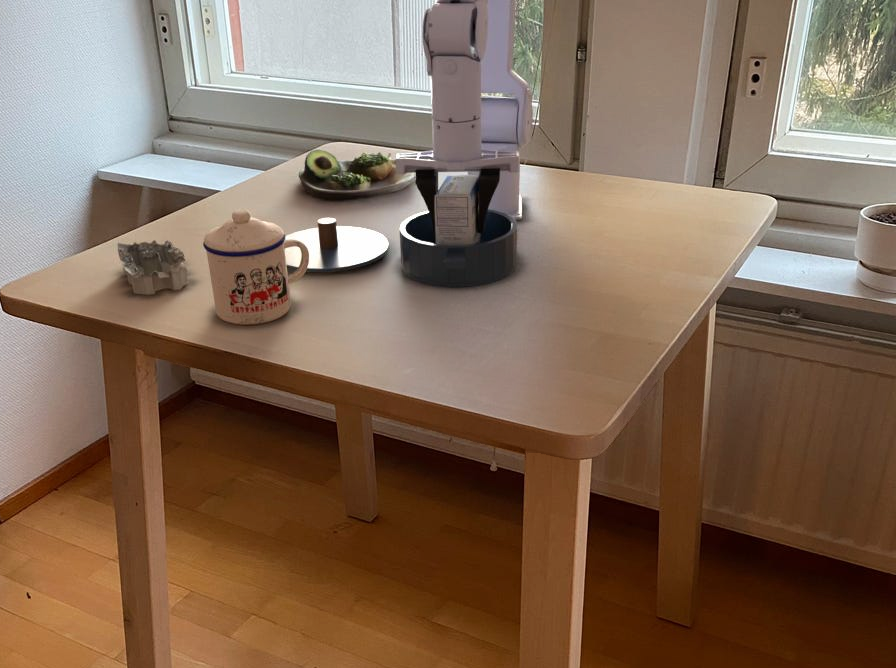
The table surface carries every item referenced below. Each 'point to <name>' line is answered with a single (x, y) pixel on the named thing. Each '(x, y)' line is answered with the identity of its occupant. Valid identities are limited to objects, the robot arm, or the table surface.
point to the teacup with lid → (251, 269)
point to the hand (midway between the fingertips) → (458, 230)
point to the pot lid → (336, 247)
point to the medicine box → (457, 211)
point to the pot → (459, 252)
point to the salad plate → (351, 176)
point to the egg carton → (153, 266)
